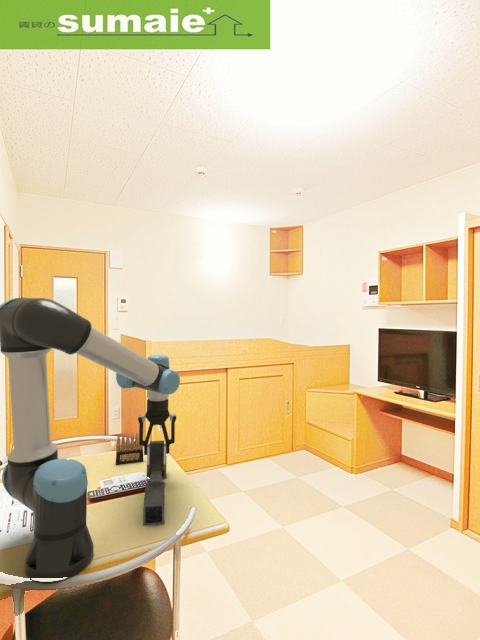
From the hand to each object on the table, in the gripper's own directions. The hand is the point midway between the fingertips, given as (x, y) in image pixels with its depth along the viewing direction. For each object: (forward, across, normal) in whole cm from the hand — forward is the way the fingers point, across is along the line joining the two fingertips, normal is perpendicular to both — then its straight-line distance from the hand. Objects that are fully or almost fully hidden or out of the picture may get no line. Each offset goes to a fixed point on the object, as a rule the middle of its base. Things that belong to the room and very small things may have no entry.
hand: (156, 462), depth 132 cm
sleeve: (+7, 0, +19) cm, 20 cm away
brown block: (+7, 0, -6) cm, 9 cm away
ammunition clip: (+8, +11, -19) cm, 23 cm away
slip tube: (+6, 0, +4) cm, 8 cm away
